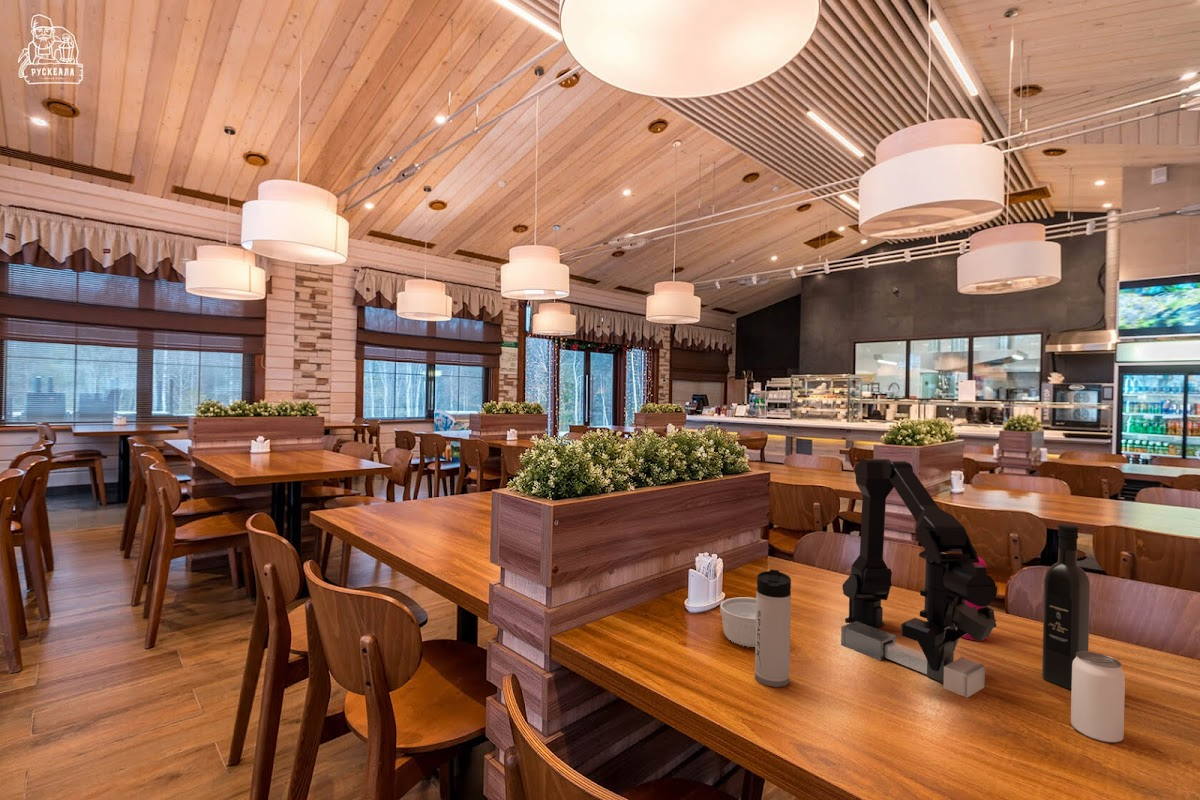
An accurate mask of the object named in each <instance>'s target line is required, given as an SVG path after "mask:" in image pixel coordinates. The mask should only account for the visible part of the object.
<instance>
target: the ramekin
mask: <svg viewBox="0 0 1200 800" xmlns="http://www.w3.org/2000/svg"><path fill="white" fill-rule="evenodd" d="M719 607H720V608H719V612H720V615H721V622H722V629H723V634H724V636H725V637H726V639H727V640H729V641H730V640H731V641H732V643H733V642H734V643H733V644H735V643H737V644H739V645H738V646H740V645H742V646H741V647H744V646H747V647H746V648H749V647H755V645H756V597H749V596H748V597H745V596H744V597H742V596H740V597H732V598H727V599H724V600H723V601H721V603H720V604H719ZM731 641H730V642H731ZM737 644H736V645H737Z"/></svg>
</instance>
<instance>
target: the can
mask: <svg viewBox="0 0 1200 800" xmlns="http://www.w3.org/2000/svg"><path fill="white" fill-rule="evenodd" d="M1125 677H1126V676H1125V673H1124V670H1123V669H1122V662H1120V661H1119V660H1118V659H1116V658H1114V657H1111V656H1109V655H1105V654H1103V653H1097V652H1094V651H1089V650H1088V651H1080V652H1077V653H1076V658H1075V659H1074V660H1073V663H1072V690H1070V691H1071V696H1070V697H1071V699H1070V707H1071V708H1070V724H1071V726H1072V727H1073V728H1074V730H1076V732H1079V734H1082V735H1083V736H1085V737H1088V738H1089V739H1092V740H1095V741H1099V742H1103V743H1107V744H1108V743H1109V744H1116V743H1120V742H1122V741H1123V740H1124V731H1125V730H1124V729H1125V725H1124V724H1125V699H1126V698H1125V694H1126V693H1125V691H1126V690H1125V689H1126V685H1125V683H1126V678H1125Z"/></svg>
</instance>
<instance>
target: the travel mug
mask: <svg viewBox="0 0 1200 800" xmlns="http://www.w3.org/2000/svg"><path fill="white" fill-rule="evenodd" d="M756 585H757V586H756V595H755V596H756V597H755V598H756V645H755V648H754V649H755V650H754V652H755V653H754V654H755V655H754V656H755V657H754V678H755V679H756V680H757V681H758V682H759V684H762V685H764V686H766V685H767V687H770V686H773V687H772V688H781V687H785V686H788V684H789V683H790V670H791V669H790V658H791V657H790V656H791V655H790V653H791V614H792V613H791V612H792V611H791V609H792V607H791V606H792V598H791V597H792V594H791V592H792V591H791V588H792V580H791V576H789V575H787V574H786V573H783V572H781V571H780V570H779V569H771V568H770V569H769V570H765V571H761V572H759V573H758V574H757V575H756Z"/></svg>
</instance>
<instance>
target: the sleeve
mask: <svg viewBox="0 0 1200 800" xmlns="http://www.w3.org/2000/svg"><path fill="white" fill-rule="evenodd" d="M840 630H841V631H840V632H841V636H840V646H843V647H846V648H848V649H851V650H853V651H855V652H858V653H861V654H863V655H865V656H868V657H869V658H872V659H873V658H874V659H875V660H877V661H881V662H882V661H883V660H884V657H883V647H884V643H885V642H888V641H892V642H895V643H896V634H893V633H890V632H887V631H884V630H881V629H879V628H878V627H876V628H874V627H871V626H868V625H866V624H863V623H860V622H857V621H855V622H852V623H849V622H848V623H847V624H845V625H841V627H840Z"/></svg>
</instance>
